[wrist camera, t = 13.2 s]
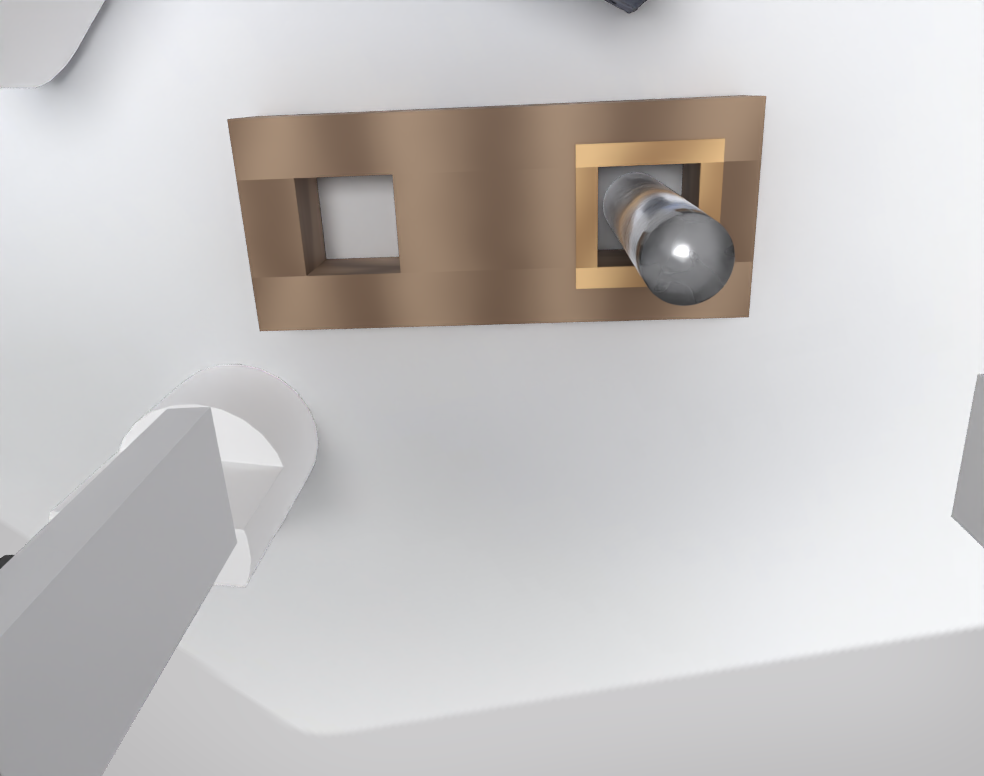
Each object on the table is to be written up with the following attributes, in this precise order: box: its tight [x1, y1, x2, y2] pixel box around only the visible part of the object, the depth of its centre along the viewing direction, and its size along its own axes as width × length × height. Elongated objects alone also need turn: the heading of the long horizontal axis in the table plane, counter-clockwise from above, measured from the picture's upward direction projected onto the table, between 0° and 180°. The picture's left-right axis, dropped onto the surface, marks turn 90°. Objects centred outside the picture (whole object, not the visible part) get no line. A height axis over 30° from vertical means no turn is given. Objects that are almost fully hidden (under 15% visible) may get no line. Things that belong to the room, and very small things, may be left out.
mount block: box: [227, 95, 766, 331], centre depth 38 cm, size 24×10×4 cm, turn 92°
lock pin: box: [603, 172, 735, 306], centre depth 33 cm, size 3×3×14 cm
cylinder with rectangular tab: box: [48, 364, 319, 588], centre depth 40 cm, size 9×9×12 cm
